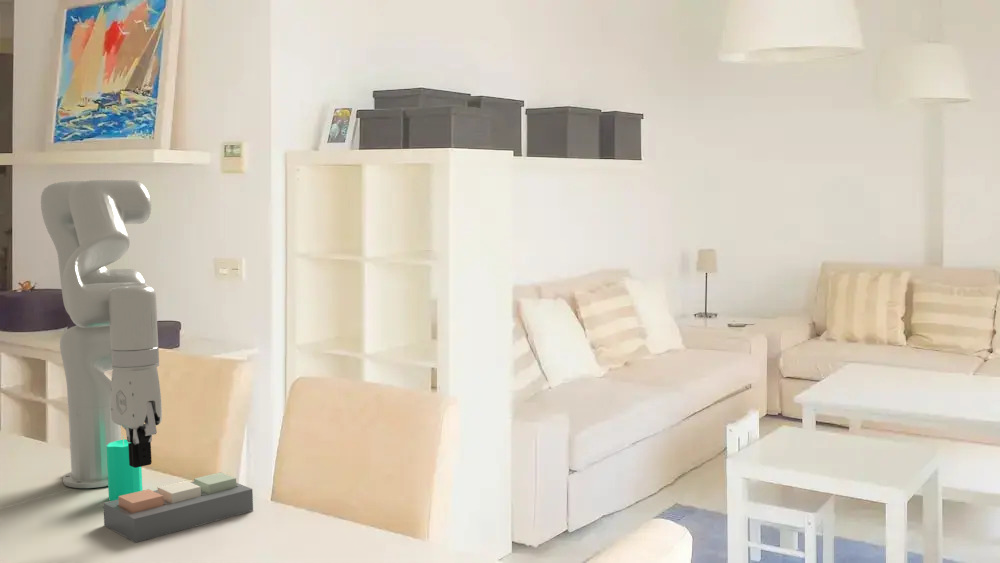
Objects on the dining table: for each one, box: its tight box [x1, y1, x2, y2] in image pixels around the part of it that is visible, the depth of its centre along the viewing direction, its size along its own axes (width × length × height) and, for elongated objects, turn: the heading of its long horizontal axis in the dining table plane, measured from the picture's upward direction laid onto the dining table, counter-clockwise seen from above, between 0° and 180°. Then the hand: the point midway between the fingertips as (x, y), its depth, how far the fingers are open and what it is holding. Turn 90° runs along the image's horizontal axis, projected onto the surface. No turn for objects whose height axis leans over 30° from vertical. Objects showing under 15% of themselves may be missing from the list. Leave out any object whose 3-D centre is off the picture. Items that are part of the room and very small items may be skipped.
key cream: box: [156, 480, 201, 503], centre depth 170 cm, size 5×5×3 cm
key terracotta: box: [119, 488, 164, 513], centre depth 165 cm, size 5×5×3 cm
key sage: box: [193, 471, 237, 494], centre depth 175 cm, size 5×5×3 cm
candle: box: [106, 434, 143, 501], centre depth 182 cm, size 6×6×12 cm
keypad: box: [102, 481, 254, 543], centre depth 170 cm, size 12×22×4 cm, turn 136°
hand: (140, 465), depth 164 cm, fingers closed
